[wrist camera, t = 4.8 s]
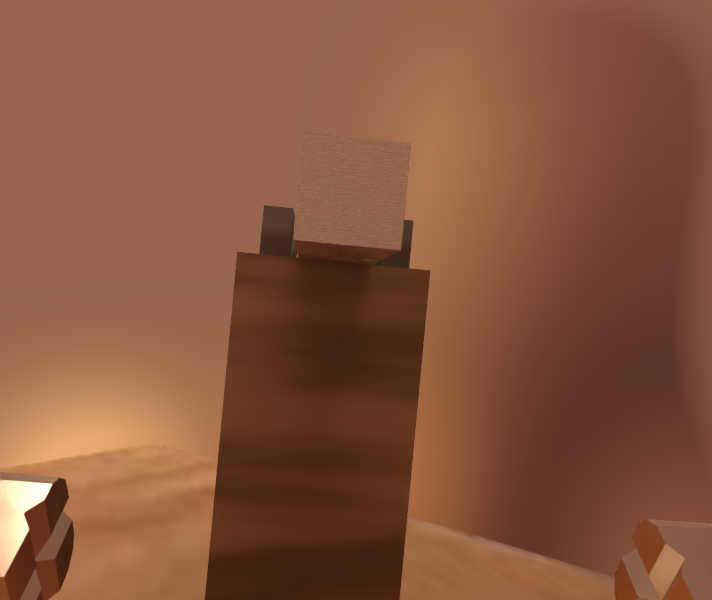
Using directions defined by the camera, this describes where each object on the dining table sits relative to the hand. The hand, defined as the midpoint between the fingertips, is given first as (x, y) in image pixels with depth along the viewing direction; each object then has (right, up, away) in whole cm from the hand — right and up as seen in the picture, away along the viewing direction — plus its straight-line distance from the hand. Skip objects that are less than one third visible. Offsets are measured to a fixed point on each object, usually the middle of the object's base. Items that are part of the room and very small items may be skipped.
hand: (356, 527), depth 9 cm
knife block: (-4, -20, +24) cm, 32 cm away
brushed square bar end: (-1, +5, +22) cm, 22 cm away
